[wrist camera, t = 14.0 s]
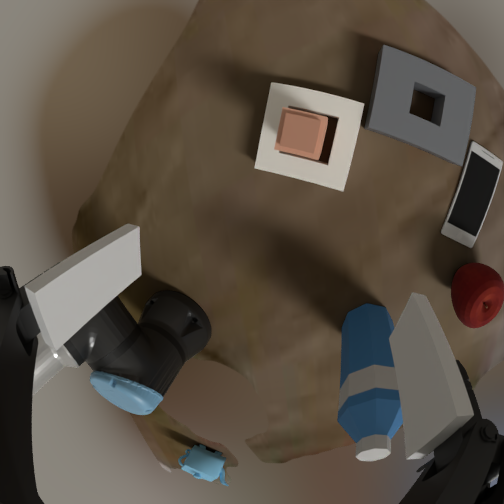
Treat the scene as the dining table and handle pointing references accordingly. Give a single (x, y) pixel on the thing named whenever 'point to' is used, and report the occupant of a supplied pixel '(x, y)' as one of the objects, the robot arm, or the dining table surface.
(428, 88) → the grey flat block
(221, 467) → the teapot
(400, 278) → the dining table surface
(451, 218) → the smartphone
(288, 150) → the plug
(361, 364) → the water bottle
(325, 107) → the white square frame
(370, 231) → the dining table surface
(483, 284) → the apple
